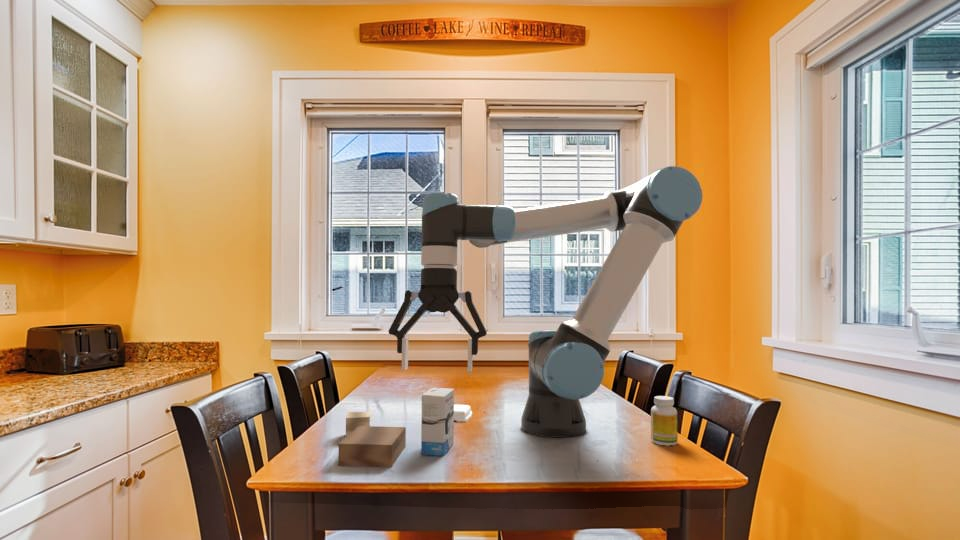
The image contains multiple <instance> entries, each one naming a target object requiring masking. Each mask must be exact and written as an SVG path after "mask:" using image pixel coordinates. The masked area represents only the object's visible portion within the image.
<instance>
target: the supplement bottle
mask: <svg viewBox="0 0 960 540" xmlns="http://www.w3.org/2000/svg"><path fill="white" fill-rule="evenodd" d="M653 398H654V399H653V403H654V405H653V406H652V407H651V409H650V439H651V442H652V443H653V444H655V445H659V446H663V445H665V446H666V447H670V445H673V446H676V445H677V444H678V437H679V436H678V411H677V409H676V407H673V406H674V404H675V399H674V397H672V396H667V395H656V396H654V397H653ZM665 446H664V447H665Z"/></svg>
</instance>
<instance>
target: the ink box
mask: <svg viewBox="0 0 960 540" xmlns="http://www.w3.org/2000/svg"><path fill="white" fill-rule="evenodd" d="M454 404H455V388H446V387H445V388H444V387H432V388H430V389H428V390H426V391H425V392H423V393H422V394H421V426H420V428H421V445H420V446H421V449H420V451H421V452H420V455H426V456H438V457H439V456H441V457H442V456H443V457H444V456H445V455H446V454H447V452H448V451H449V450H450V448H451V447H452V446H453V445H454V433H455V432H454V431H455V430H454V423H455V420H454Z"/></svg>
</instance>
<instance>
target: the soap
mask: <svg viewBox="0 0 960 540" xmlns="http://www.w3.org/2000/svg"><path fill="white" fill-rule="evenodd" d="M472 416H473V411H472V408H471V406H470V404H455V403H454V421H456V422H457V423H458V422H459V423H467V422H468V421H470V419H471V418H472Z"/></svg>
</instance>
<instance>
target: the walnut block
mask: <svg viewBox="0 0 960 540" xmlns="http://www.w3.org/2000/svg"><path fill="white" fill-rule="evenodd" d="M406 429H407V427H406V426H375V425H374V426H371V425H370V426H358V427H357V428H356V429H355V430H354V431H353V432H351V433H350V434H349V435H348V436H347V437H346V436H345V438H343V439H342V440H341V441H340V442H339V443H338V463H337V465H338V466H340V467H345V466H347V467H348V466H349V467H380V468H382V467H383V468H386V467H387V468H392V467H393V466H394V464H395V462H396V461H397V460H398V458H399V457H400V455H401V454H402V453H403V451H404V450H405V448H406V447H407V446H406V434H407V433H406V432H407V430H406Z"/></svg>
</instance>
